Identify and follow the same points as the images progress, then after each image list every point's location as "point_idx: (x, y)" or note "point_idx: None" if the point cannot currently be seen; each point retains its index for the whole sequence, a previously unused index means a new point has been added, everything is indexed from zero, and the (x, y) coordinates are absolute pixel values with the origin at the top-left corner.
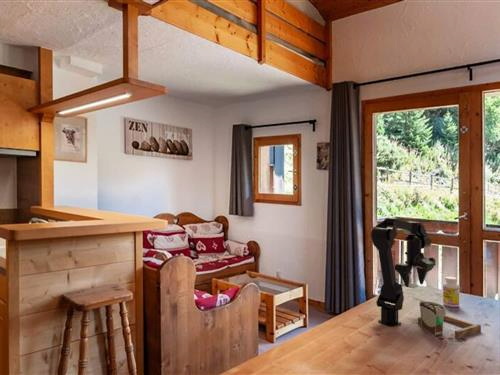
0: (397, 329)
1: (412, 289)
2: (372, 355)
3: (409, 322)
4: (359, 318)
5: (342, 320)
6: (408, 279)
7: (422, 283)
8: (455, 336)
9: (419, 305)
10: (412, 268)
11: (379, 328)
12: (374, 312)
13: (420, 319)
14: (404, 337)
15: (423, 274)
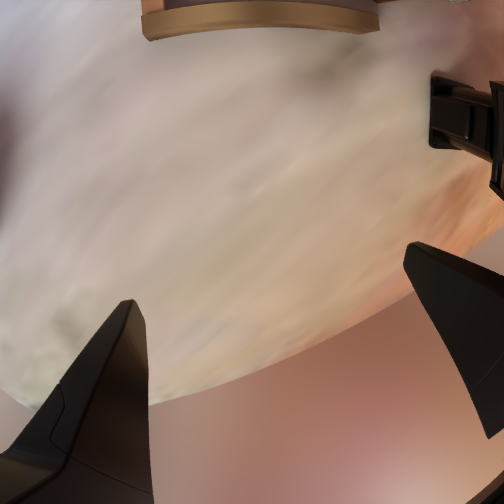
0: (461, 60)
1: None
2: None
3: (380, 69)
4: (469, 207)
5: (496, 213)
6: (497, 283)
7: (125, 306)
8: None
9: (454, 2)
10: (488, 497)
11: None
12: (397, 241)
13: (374, 15)
14: (476, 15)
15: (88, 441)
